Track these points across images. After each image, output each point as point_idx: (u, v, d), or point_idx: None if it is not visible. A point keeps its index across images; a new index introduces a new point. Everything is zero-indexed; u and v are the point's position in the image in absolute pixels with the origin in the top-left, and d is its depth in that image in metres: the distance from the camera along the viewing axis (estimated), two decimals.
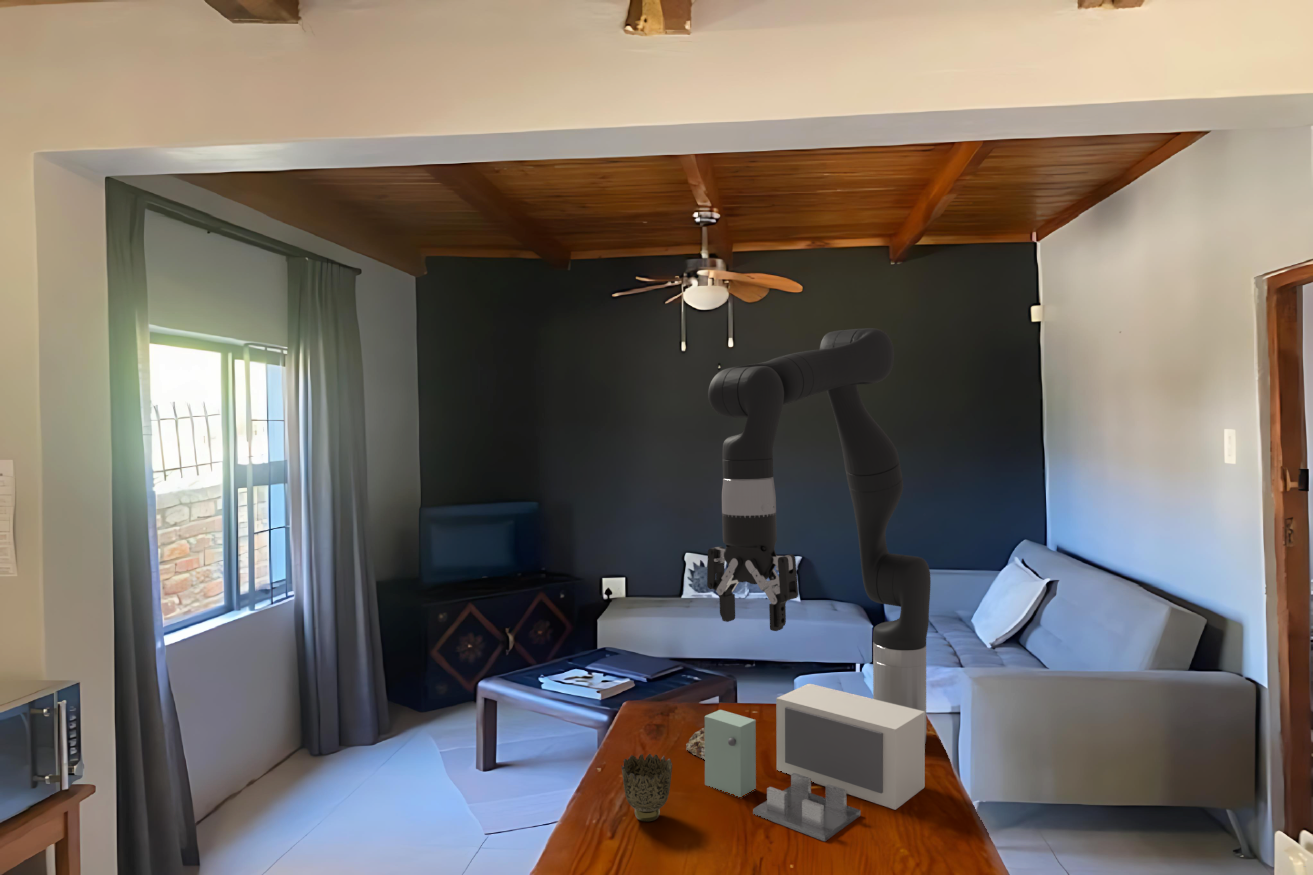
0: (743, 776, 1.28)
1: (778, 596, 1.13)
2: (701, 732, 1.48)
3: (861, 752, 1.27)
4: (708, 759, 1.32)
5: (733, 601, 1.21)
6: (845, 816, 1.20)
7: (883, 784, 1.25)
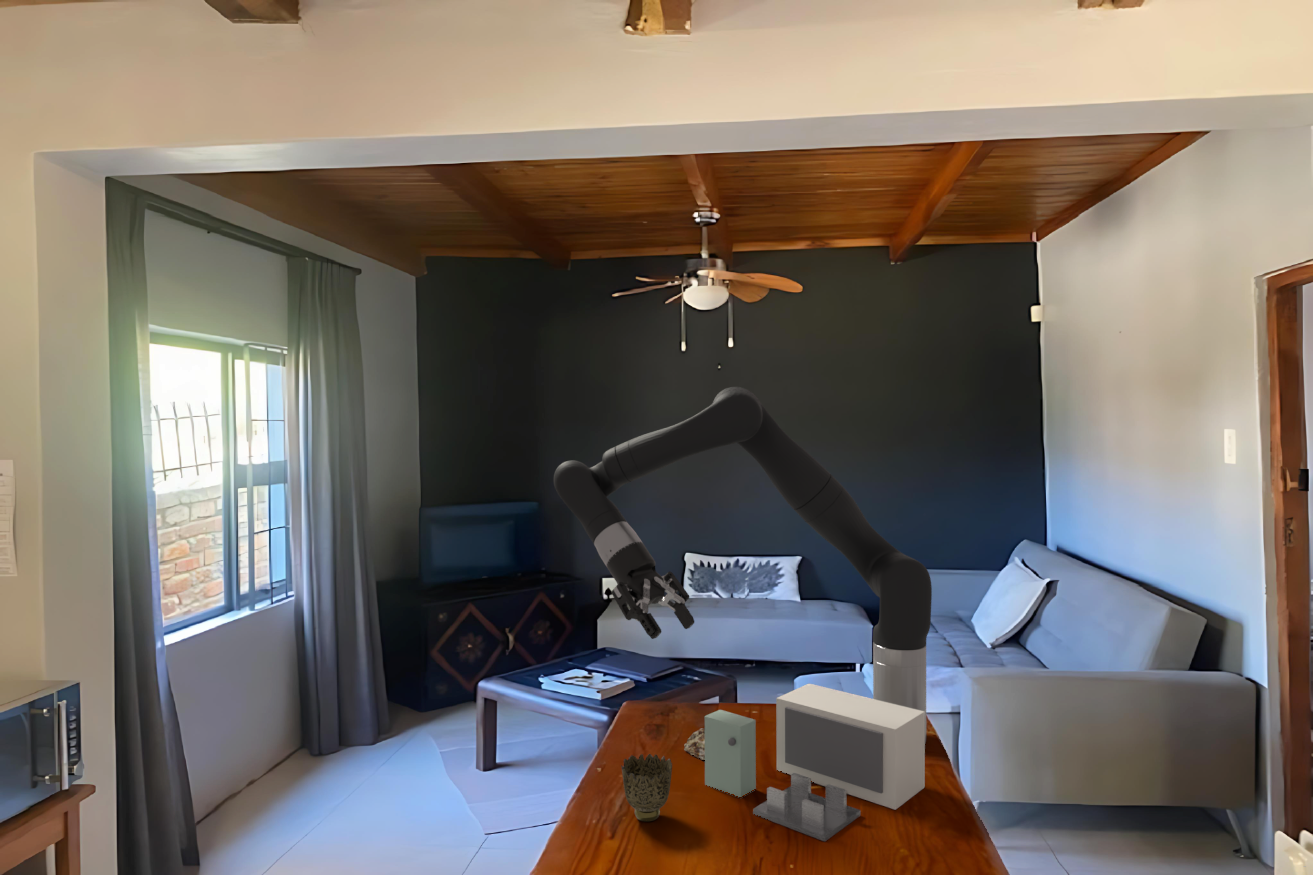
0: (743, 776, 1.28)
1: None
2: (699, 732, 1.48)
3: (861, 752, 1.27)
4: (708, 759, 1.32)
5: (683, 610, 1.42)
6: (845, 816, 1.20)
7: (883, 784, 1.25)
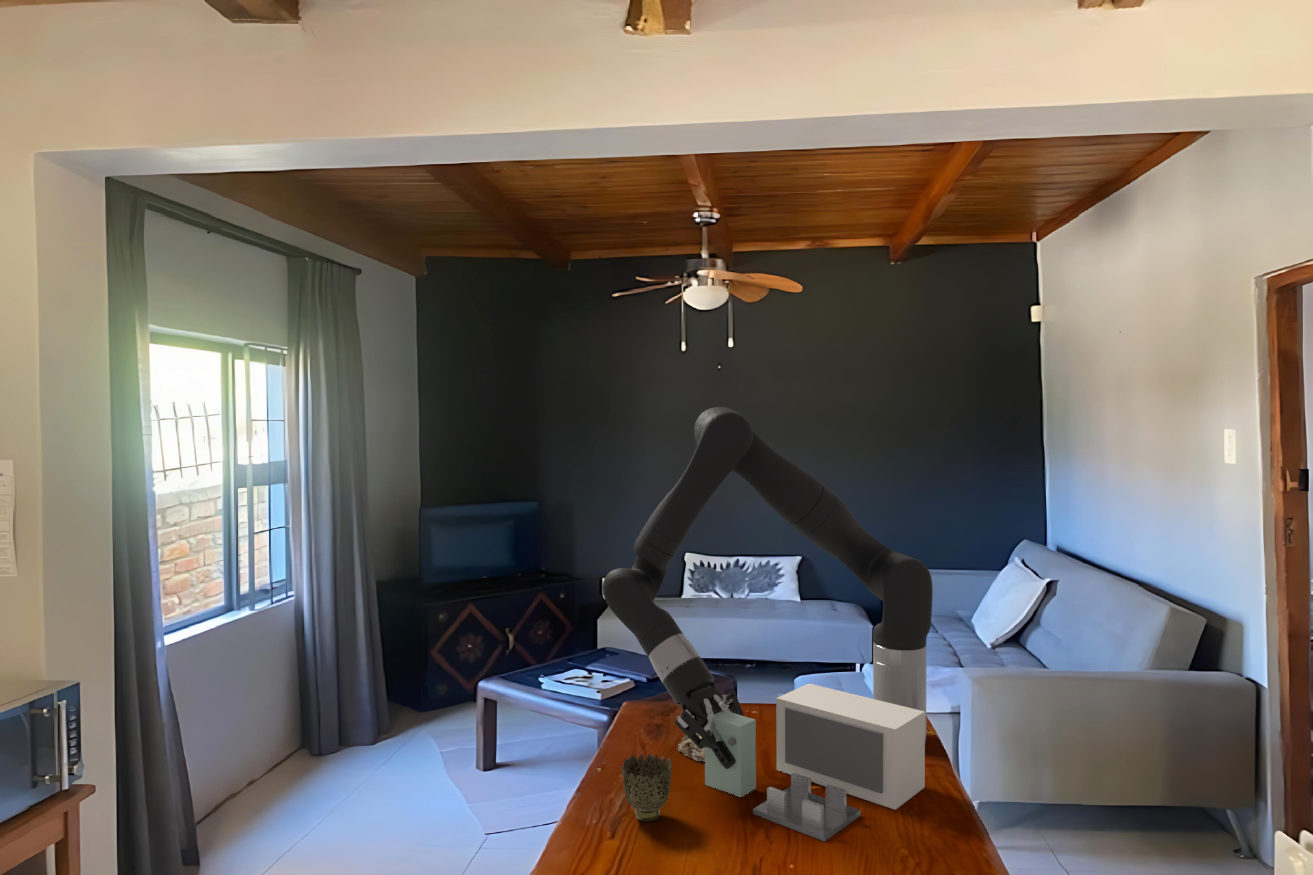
0: (743, 776, 1.28)
1: None
2: None
3: (861, 752, 1.27)
4: (708, 759, 1.32)
5: None
6: (845, 816, 1.20)
7: (883, 784, 1.25)
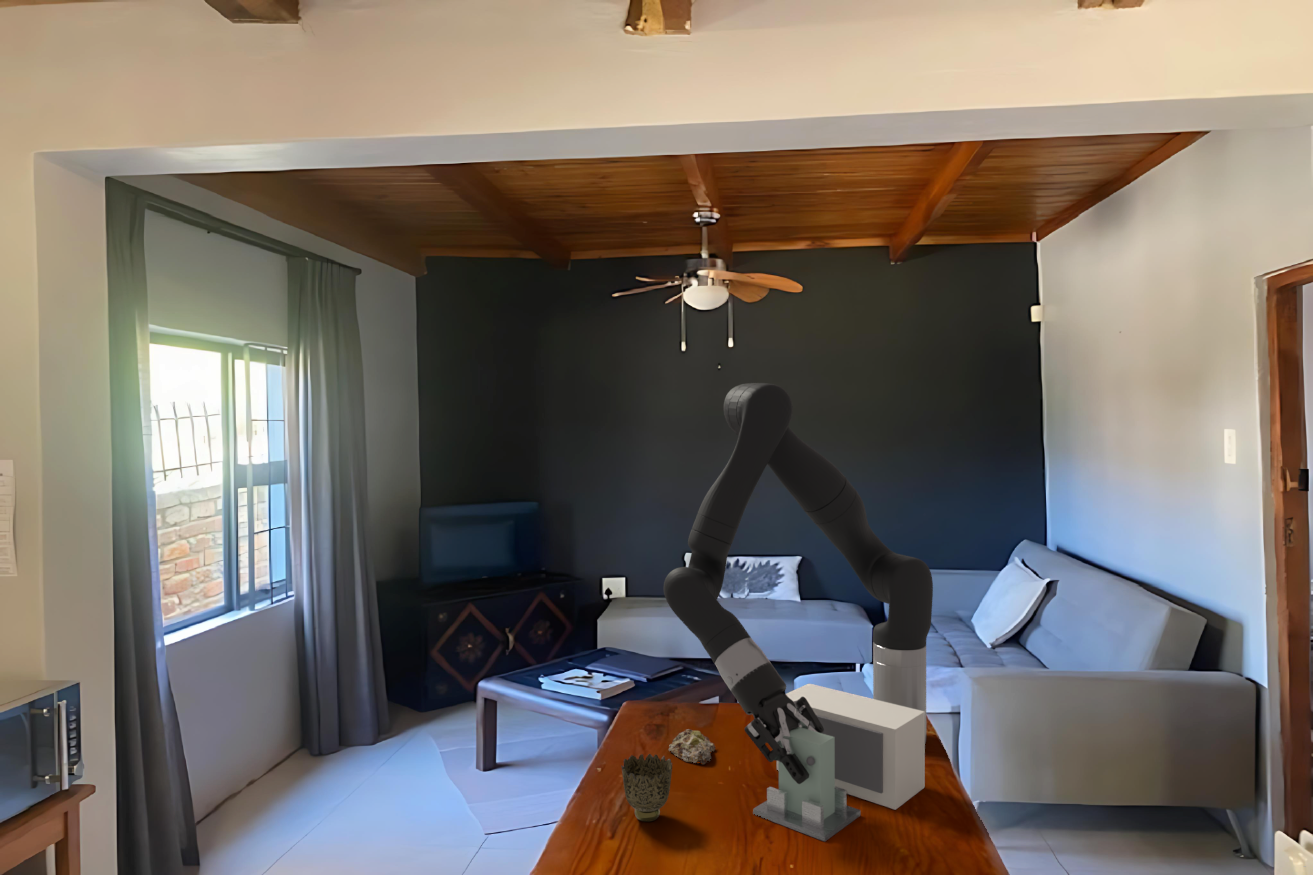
0: (822, 798, 1.19)
1: None
2: (685, 733, 1.48)
3: (861, 752, 1.27)
4: (782, 779, 1.23)
5: None
6: (845, 816, 1.20)
7: (883, 784, 1.25)
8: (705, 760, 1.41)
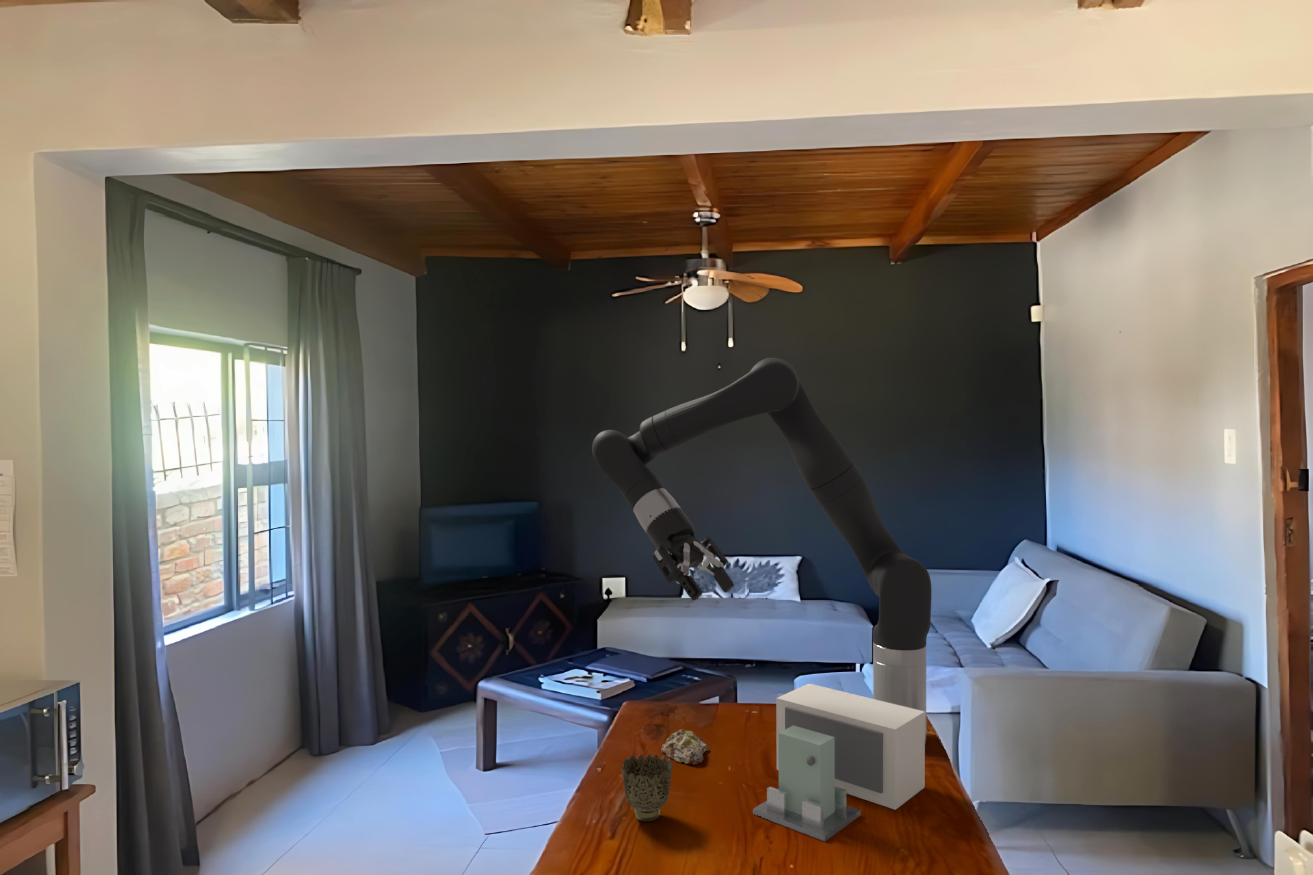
0: (822, 798, 1.19)
1: None
2: (678, 733, 1.48)
3: (861, 752, 1.27)
4: (782, 779, 1.23)
5: (722, 574, 1.44)
6: (845, 816, 1.20)
7: (883, 784, 1.25)
8: (697, 761, 1.41)
